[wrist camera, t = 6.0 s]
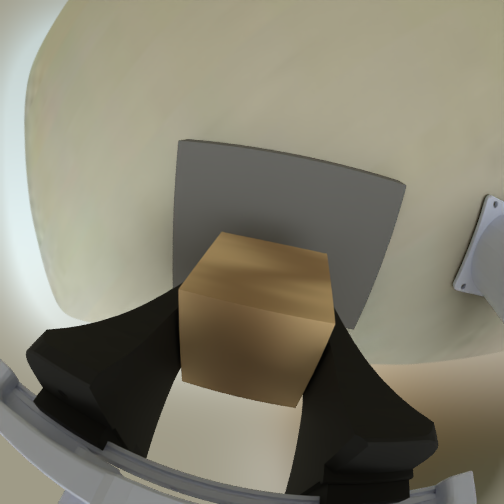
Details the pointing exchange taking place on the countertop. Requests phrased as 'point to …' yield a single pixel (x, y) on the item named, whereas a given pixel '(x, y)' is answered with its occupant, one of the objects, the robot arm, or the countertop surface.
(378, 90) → the countertop surface
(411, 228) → the countertop surface
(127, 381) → the robot arm
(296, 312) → the oak cube
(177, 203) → the charcoal mat
